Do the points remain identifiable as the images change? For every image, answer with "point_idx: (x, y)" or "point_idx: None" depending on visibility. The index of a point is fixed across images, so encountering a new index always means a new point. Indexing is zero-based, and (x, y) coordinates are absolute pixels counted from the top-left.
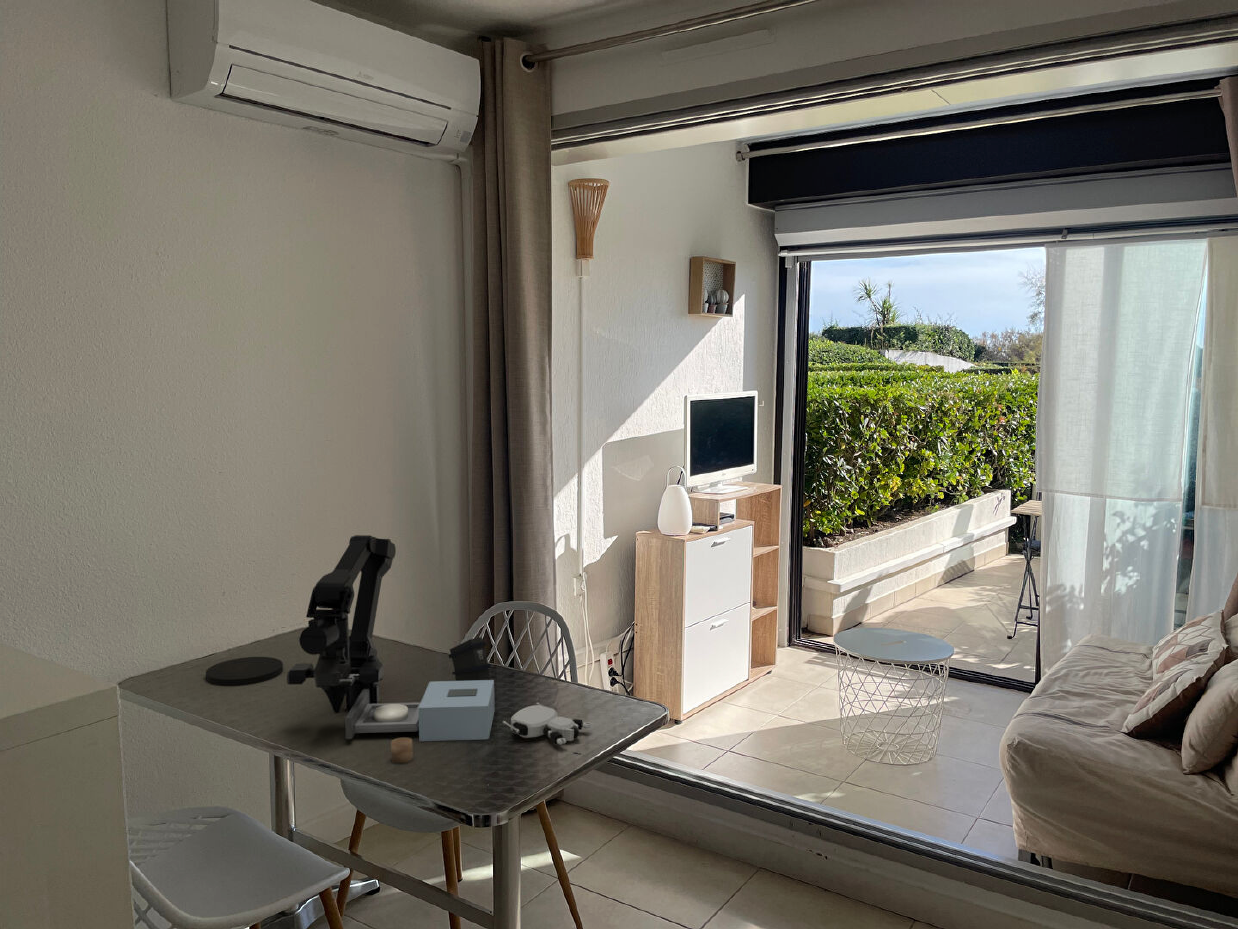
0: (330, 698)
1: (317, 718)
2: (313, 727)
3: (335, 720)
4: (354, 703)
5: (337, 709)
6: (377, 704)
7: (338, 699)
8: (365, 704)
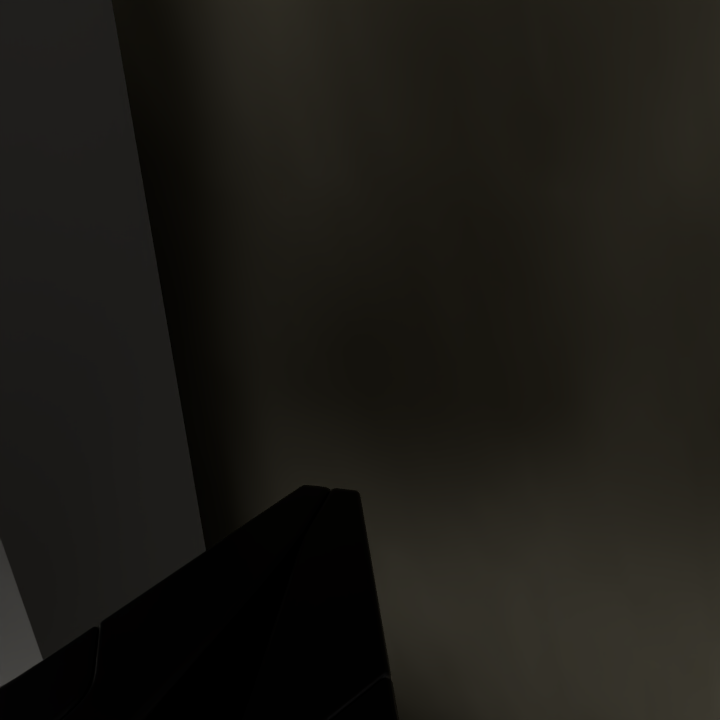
0: (341, 697)
1: (637, 674)
2: (653, 482)
3: (453, 599)
4: (7, 565)
5: (296, 515)
6: None
7: (163, 635)
8: None
